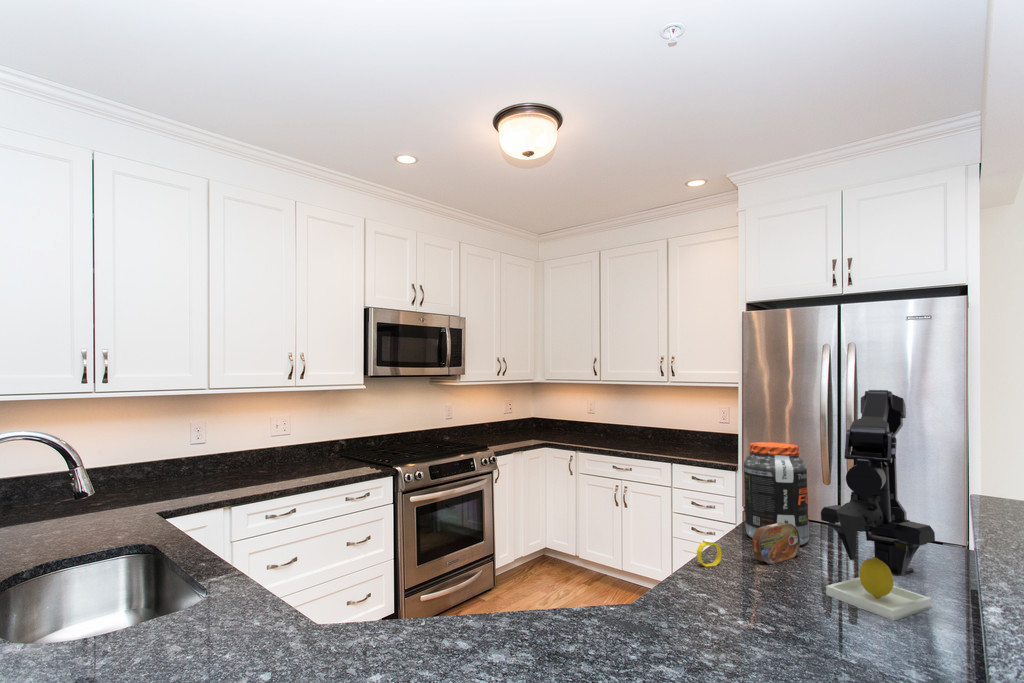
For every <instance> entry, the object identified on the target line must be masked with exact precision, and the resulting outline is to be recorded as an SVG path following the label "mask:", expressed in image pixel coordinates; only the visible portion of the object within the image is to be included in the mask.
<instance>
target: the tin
mask: <svg viewBox="0 0 1024 683" xmlns="http://www.w3.org/2000/svg"><path fill="white" fill-rule="evenodd" d="M751 540H752V543H751V544H752V551H753V554H754V557H755V558H756V559H757V561H760V562H764V563H766V564H767V565H774V564H778V563H781V562H784V561H787V560H792V559H794V558H795V557H796V556H797V555H798V553H799V550H800V546H801V545H800V537H799V533H798V531H797V529H796V527H795V526H794V525H792V524H787V523H776V524H772V525H767V526H763V527H759V528H758V529H757V530H756V531H755V533H754V535H753V538H752V537H751Z"/></svg>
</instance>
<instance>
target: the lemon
mask: <svg viewBox="0 0 1024 683" xmlns="http://www.w3.org/2000/svg"><path fill="white" fill-rule="evenodd" d="M858 576H859V577H860V581H861V584H862V586H863V587H864V589H865V590H866V591H867V592H869V593H870V594H872V595H873V596H874V597H875V598H877V599H879V598H880V597H882V596H886V595H888V594H889V593H890V592H891V590H892V588H893V586H894V576H893V574H892V573H891V571H890V569H889V567H888V566H887V565H886V564H885V563H884V562H883V561H881V560H879V559H878V558H876V557H875V556H873V557H872V558H868V559H866V560H864V561H862V563H861V565H860V568H859V575H858Z"/></svg>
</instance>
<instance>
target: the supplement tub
mask: <svg viewBox="0 0 1024 683" xmlns="http://www.w3.org/2000/svg"><path fill="white" fill-rule="evenodd" d="M748 451H749V454H748V455H747V456H746V458H745V459H744V461H743V480H744V482H743V485H744V486H743V487H744V489H743V491H744V510H745V511H744V516H745V517H744V518H745V522H744V523H745V524H744V525H745V531H746V534H747V535H748V536H749V537H750V538H751V539H752V538H753V535H754V533H755V531H756V530H757V529H758V528H759V527H763V526H767V525H772V524H776V523H787V524H792V525H794V526H795V527H796V529H797V531H798V533H799V537H800V546H802V545H804V544H806V543H808V541H809V539H810V538H809V537H810V526H809V525H810V524H809V523H810V522H809V501H808V500H809V499H808V498H809V496H808V470H807V466H806V463H805V462H804V460H803V459H802V458H800V457H799V456H800V446H799V445H797V444H793V443H786V442H772V441H771V442H769V441H759V442H758V441H755V442H750V443H749V449H748Z"/></svg>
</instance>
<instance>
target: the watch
mask: <svg viewBox="0 0 1024 683" xmlns="http://www.w3.org/2000/svg"><path fill="white" fill-rule="evenodd" d="M707 545H708V546H714V547H715V548H716V555H715V556H716V557H715V559H714V560H713V562H708V563H704V562H703V559H702V552H703V550H704V548H705V547H706V546H707ZM722 554H723V553H722V549H721V546H720V545H719V544H718V543H716V540H714V539H710V538H703V539H702V542H701V543H700V544H699V545H698V548H697V550H696V558H697V561H698V562H699V564H701V566H703V567H705V568H708V567H709V568H710V567H717V566H718V565H719V564H720V562H721V560H722Z"/></svg>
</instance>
